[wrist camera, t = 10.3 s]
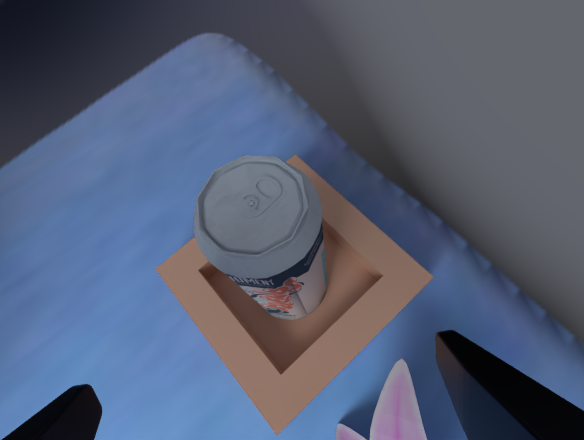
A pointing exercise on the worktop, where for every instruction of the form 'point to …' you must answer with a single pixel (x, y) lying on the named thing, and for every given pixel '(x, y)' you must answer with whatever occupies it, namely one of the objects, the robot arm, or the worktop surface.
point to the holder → (308, 330)
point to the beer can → (265, 233)
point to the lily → (393, 411)
